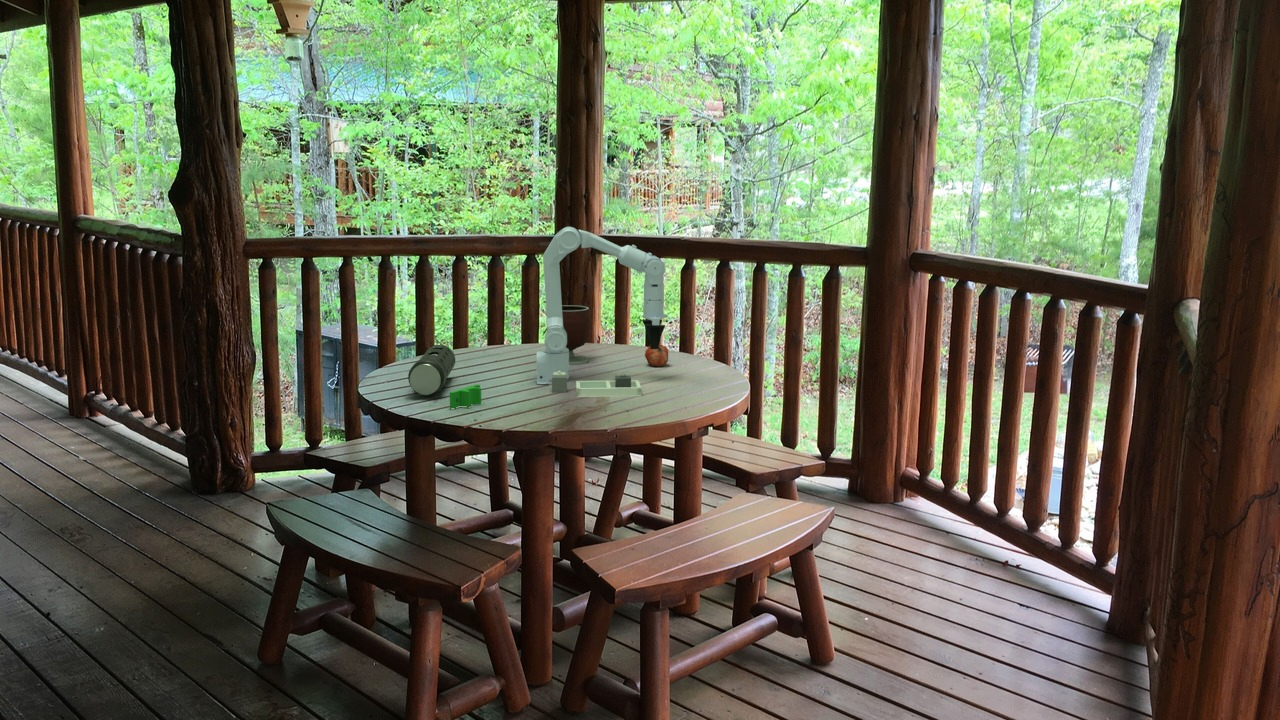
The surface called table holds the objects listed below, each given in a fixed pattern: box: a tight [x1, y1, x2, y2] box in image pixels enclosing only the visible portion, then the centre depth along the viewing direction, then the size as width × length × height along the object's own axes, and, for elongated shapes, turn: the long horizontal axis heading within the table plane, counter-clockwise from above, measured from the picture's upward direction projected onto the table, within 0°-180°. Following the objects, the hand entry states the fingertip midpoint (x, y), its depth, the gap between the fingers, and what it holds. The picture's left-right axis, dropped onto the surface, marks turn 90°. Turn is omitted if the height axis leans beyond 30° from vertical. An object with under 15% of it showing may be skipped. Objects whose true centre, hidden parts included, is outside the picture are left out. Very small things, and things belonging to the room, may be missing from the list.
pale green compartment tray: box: [575, 379, 642, 398], centre depth 260 cm, size 17×11×3 cm, turn 94°
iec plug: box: [551, 371, 568, 394], centre depth 261 cm, size 4×4×7 cm
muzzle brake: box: [407, 344, 456, 396], centre depth 268 cm, size 10×28×10 cm, turn 4°
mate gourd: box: [543, 300, 591, 366], centre depth 307 cm, size 16×14×20 cm
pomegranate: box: [644, 344, 669, 367], centre depth 303 cm, size 7×7×10 cm
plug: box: [614, 373, 632, 388], centre depth 260 cm, size 4×4×5 cm
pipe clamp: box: [449, 384, 482, 409], centre depth 249 cm, size 11×4×5 cm, turn 153°
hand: (653, 346), depth 278 cm, fingers open, 7 cm apart
